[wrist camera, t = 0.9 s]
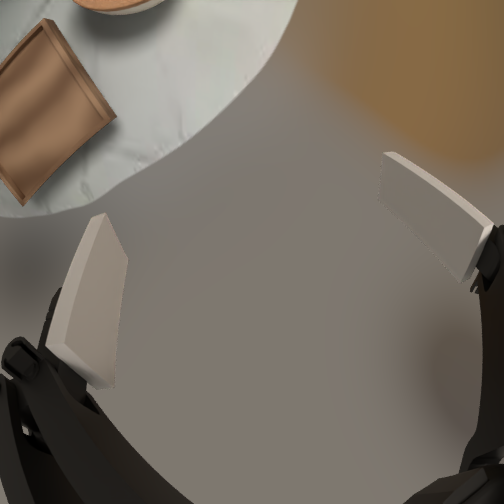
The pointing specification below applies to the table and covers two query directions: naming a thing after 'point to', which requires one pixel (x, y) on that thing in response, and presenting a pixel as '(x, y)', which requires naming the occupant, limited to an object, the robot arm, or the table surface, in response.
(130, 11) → the lidded bowl
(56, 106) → the tray
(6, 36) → the table surface
